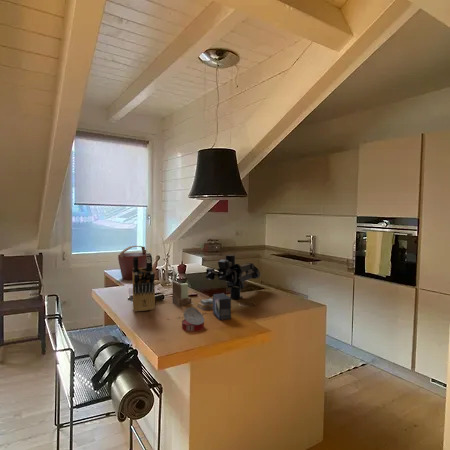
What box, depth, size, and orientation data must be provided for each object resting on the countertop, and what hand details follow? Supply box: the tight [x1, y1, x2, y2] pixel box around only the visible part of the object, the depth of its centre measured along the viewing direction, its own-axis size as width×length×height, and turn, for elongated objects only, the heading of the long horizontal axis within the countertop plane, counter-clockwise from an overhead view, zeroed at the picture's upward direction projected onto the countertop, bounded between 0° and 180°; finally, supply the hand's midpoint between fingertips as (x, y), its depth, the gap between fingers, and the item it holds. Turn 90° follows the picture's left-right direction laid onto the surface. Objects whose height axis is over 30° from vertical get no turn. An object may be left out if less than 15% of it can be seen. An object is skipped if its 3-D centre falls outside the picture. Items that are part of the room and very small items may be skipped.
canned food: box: [181, 306, 205, 333], centre depth 150 cm, size 11×10×10 cm
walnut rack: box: [172, 280, 196, 308], centre depth 184 cm, size 10×9×13 cm
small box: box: [212, 292, 232, 321], centre depth 165 cm, size 11×6×10 cm, turn 21°
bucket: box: [117, 245, 148, 281], centre depth 257 cm, size 24×22×25 cm
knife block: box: [132, 252, 156, 312], centre depth 180 cm, size 11×35×31 cm, turn 15°
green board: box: [180, 282, 189, 299], centre depth 184 cm, size 4×2×11 cm, turn 120°
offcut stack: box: [196, 298, 213, 311], centre depth 178 cm, size 8×7×5 cm
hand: (213, 277), depth 179 cm, fingers open, 9 cm apart
